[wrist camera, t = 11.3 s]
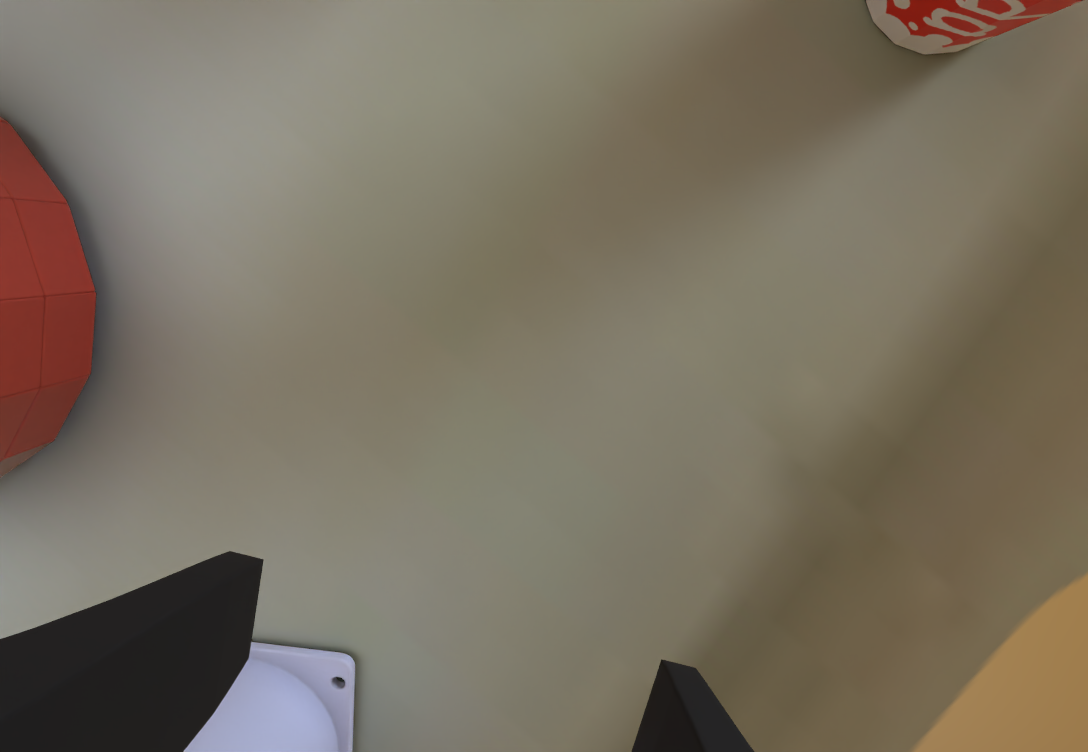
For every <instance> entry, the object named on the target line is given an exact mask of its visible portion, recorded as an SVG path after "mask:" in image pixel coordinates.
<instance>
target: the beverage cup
mask: <svg viewBox="0 0 1088 752" xmlns="http://www.w3.org/2000/svg"><path fill="white" fill-rule="evenodd" d="M1080 1H1083V0H866V3H867V6H868V9H869V12H870V14H871V17H872V20H873V22H874V23H875V24H876V25H877V26H878V27H879V28H880V29H881V30H882V31H883V32H884V33H885V34H886V35H887V36H888V38H889V39H890V40H891V41H892V42H893V43H894V44H896V45H899V46H902V47H904V48H907V49H910V50H913V51H916V52H918V53H921V54H924V55H925V54H937V53H950V52H958V51H960V50H962V49H965V48H967V47H970V46H972V45H975V44H977V43H980V42H982V41H985V40H987V39H989V38H992V37H994V36H997V35H999V34H1002V33H1004V32H1007V31H1009V30H1012V29H1014V28H1016V27H1019V26H1021V25H1024V24H1026V23H1029V22H1031V21H1034V20H1036V19H1039V18H1041V17H1044V16H1046V15H1048V14H1051V13H1053V12H1056V11H1058V10H1061V9H1063V8H1066V7H1068V6H1071V5H1073V4H1075V3H1078V2H1080Z"/></svg>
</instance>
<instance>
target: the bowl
mask: <svg viewBox="0 0 1088 752" xmlns="http://www.w3.org/2000/svg"><path fill="white" fill-rule="evenodd" d="M94 291H95V287H94V284H93V281H92V277H91V274H90V271H89V268H88V265H87V261H86V258H85V255H84V252H83V248H82V245H81V242H80V239H79V236H78V232H77V229H76V226H75V223H74V219H73V216H72V213H71V210H70V207H69V205H68V204H67V200H66V199H65V198H64V196H63V195H62V194H61V192H60V191H59V189H58V188H57V187H56V185H55V184H54V183H53V181H52V180H51V179H50V177H49V176H48V174H47V173H46V172H45V170H44V169H43V168H42V166H41V165H40V164H39V162H38V161H37V159H36V158H35V157H34V155H33V154H32V153H31V151H30V150H29V149H28V147H27V146H26V144H25V143H24V142H23V140H22V139H21V138H20V136H19V135H18V134H17V132H16V131H15V130H14V128H13V127H12V125H10V124H9V123H8V121H6V120H5V119H3V118H2V117H0V478H1V477H2V476H3V475H5V474H6V473H8V472H9V471H11V470H12V469H14V468H15V467H17V466H18V465H20V464H21V463H22V462H24V461H25V460H27V459H28V458H30V457H31V456H33V455H34V454H36V453H37V452H39V451H40V450H41V449H43V448H44V447H46V446H47V445H49V444H50V443H52V442H53V441H54V440H55V438H56V437H57V435H58V433H59V431H60V429H61V427H62V426H63V424H64V422H65V420H66V418H67V416H68V415H69V413H70V411H71V409H72V407H73V405H74V404H75V402H76V400H77V398H78V396H79V394H80V393H81V391H82V389H83V387H84V385H85V383H86V382H87V380H88V378H89V375H90V374H91V365H92V351H93V336H94V322H95V307H96V292H94Z"/></svg>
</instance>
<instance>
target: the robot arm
mask: <svg viewBox="0 0 1088 752" xmlns="http://www.w3.org/2000/svg"><path fill="white" fill-rule="evenodd" d="M262 566H263V559H259V558H255V557H251V556H247V555H243V554H239V553H235V552H231V551H229V552H227V553H224V554H221V555H218V556H215V557H213V558H210V559H208V560H205V561H203V562H200V563H198V564H196V565H193V566H191V567H188V568H186V569H184V570H181V571H179V572H176V573H174V574H172V575H169V576H167V577H165V578H162V579H160V580H157V581H155V582H152V583H150V584H148V585H145V586H143V587H140V588H138V589H135V590H133V591H131V592H128V593H126V594H123V595H121V596H118V597H116V598H113V599H111V600H108V601H106V602H103V603H100V604H98V605H95V606H92V607H90V608H87V609H84V610H82V611H79V612H76V613H73V614H71V615H68V616H65V617H63V618H60V619H57V620H55V621H52V622H49V623H46V624H44V625H41V626H38V627H36V628H33V629H30V630H27V631H24V632H21V633H18V634H15V635H12V636H9V637H6V638H2V639H0V752H352V749H353V720H354V690H355V662H354V660H353V659H352V657H350V656H349V655H348V654H344V653H339V652H331V651H323V650H314V649H306V648H298V647H290V646H282V645H273V644H265V643H257V642H251V640H252V634H253V627H254V620H255V613H256V606H257V600H258V593H259V586H260V579H261V573H262ZM336 677H340V678H342V679H343V680H344V681H345V682H341V681H338V680H337V679H336ZM632 752H754V751H753V749H752V748H751V747H750V745H749V744H748V742H747V741H746V740H745V738H744V737H743V735H742V734H741V732H740V731H739V730H738V728H737V727H736V725H735V724H734V722H733V721H732V719H731V718H730V717H729V715H728V714H727V712H726V711H725V709H724V708H723V706H722V705H721V703H720V702H719V701H718V699H717V698H716V696H715V695H714V693H713V692H712V690H711V689H710V687H709V686H708V685H707V683H706V682H705V680H704V679H703V677H702V676H701V675H700V673H699V672H698V671H697V669H696V668H694V667H690V666H686V665H682V664H678V663H674V662H670V661H666V660H661V663H660V666H659V669H658V672H657V675H656V678H655V681H654V684H653V687H652V690H651V694H650V697H649V700H648V703H647V706H646V709H645V712H644V715H643V718H642V721H641V724H640V727H639V730H638V734H637V737H636V740H635V743H634V746H633V749H632Z"/></svg>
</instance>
